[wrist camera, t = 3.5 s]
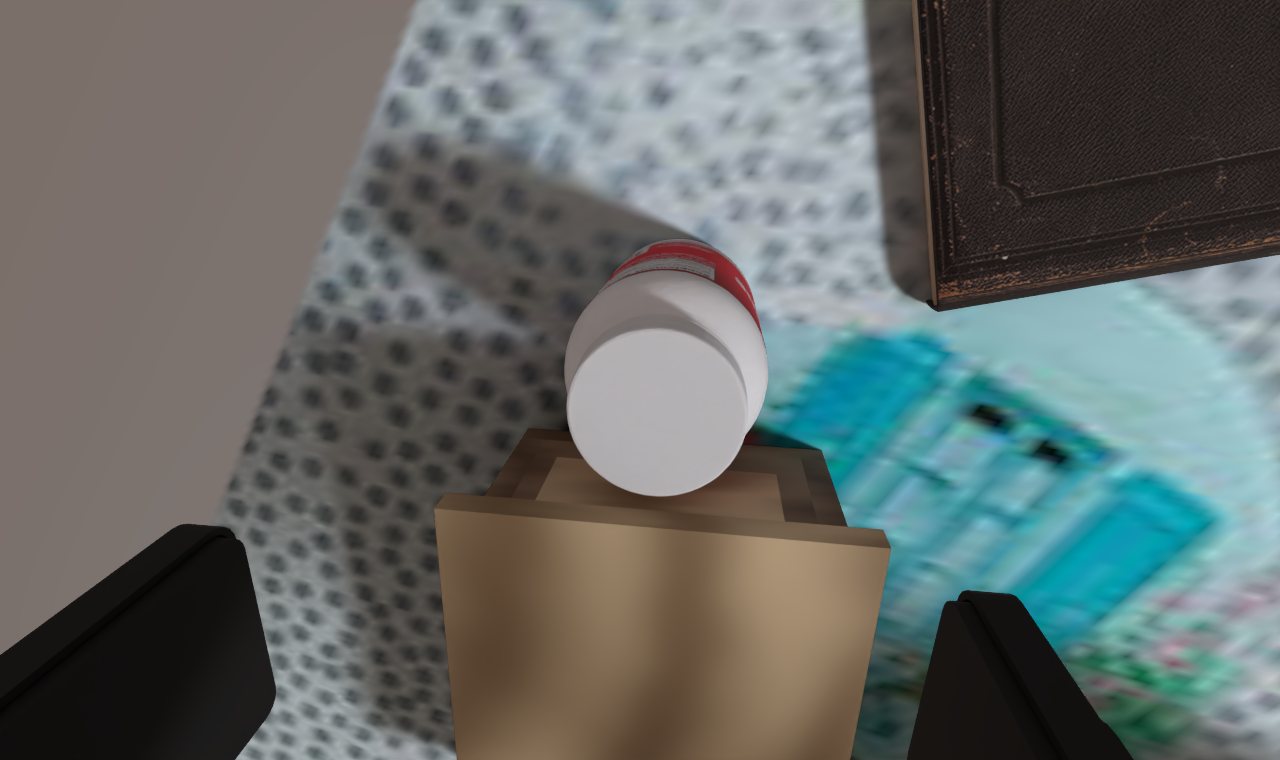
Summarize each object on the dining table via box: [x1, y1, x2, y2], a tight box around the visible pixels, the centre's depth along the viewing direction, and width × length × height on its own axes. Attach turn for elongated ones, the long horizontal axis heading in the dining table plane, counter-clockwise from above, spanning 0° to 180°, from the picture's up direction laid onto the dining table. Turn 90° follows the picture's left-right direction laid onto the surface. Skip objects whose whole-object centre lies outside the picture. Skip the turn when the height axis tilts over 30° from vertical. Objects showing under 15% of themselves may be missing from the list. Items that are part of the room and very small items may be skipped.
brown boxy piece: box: [485, 429, 848, 527], centre depth 29 cm, size 13×22×8 cm, turn 178°
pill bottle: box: [564, 239, 768, 496], centre depth 22 cm, size 6×6×11 cm
